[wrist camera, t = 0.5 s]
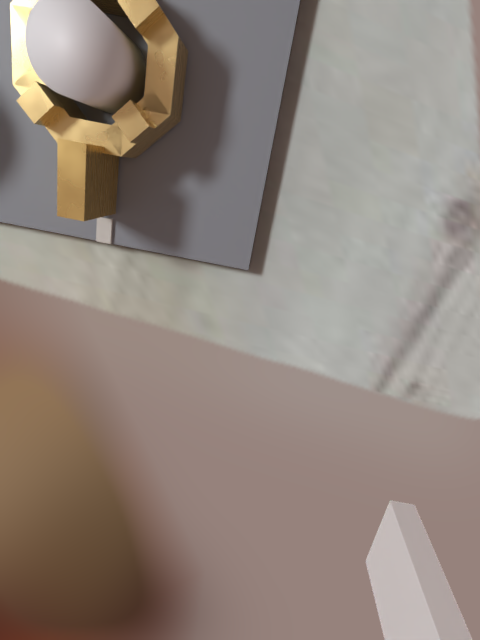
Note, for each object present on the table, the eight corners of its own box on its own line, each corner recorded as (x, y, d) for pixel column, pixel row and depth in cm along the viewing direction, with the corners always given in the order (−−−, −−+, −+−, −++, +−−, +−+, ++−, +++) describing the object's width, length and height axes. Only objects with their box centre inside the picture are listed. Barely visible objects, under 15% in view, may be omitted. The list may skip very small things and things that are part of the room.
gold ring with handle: (37, -34, 25) (-23, -89, 20) (194, -4, 25) (174, -51, 20) (39, 198, 30) (-8, 203, 25) (169, 224, 30) (148, 234, 25)
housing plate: (-57, -179, 24) (-192, -325, 17) (320, -106, 24) (342, -224, 17) (-29, 212, 32) (-110, 223, 26) (248, 267, 32) (243, 292, 25)
